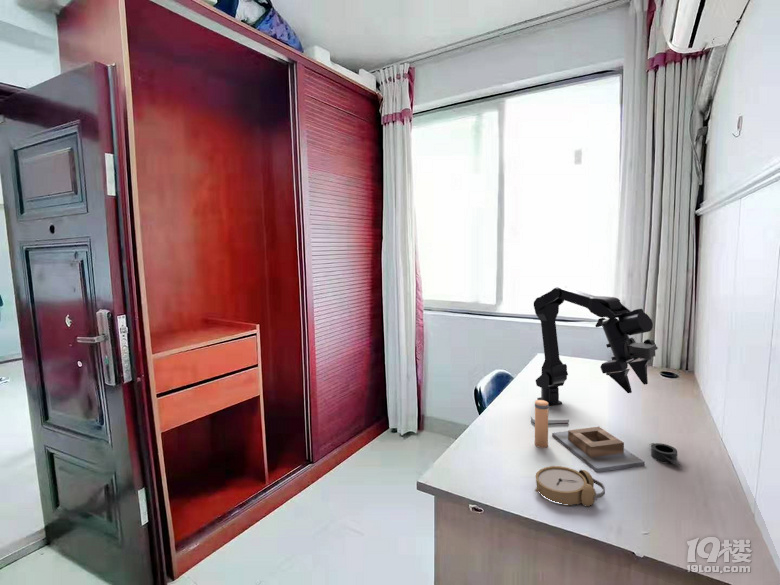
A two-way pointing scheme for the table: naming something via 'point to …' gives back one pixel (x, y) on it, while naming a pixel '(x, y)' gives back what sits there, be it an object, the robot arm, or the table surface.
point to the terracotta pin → (541, 423)
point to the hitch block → (598, 449)
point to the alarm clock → (567, 485)
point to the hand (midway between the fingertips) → (638, 388)
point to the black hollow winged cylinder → (664, 453)
